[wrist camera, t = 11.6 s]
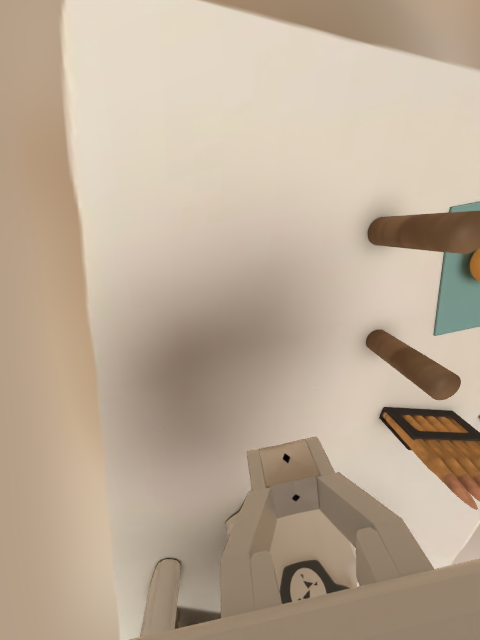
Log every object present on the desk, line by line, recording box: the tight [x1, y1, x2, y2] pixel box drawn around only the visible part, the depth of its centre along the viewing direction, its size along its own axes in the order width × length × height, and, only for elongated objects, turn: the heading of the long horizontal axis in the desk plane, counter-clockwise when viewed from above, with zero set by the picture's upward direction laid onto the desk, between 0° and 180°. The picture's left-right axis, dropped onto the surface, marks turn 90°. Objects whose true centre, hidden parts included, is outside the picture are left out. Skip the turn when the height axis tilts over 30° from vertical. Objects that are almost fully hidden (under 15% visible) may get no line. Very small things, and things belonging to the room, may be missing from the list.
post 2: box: [366, 330, 461, 400], centre depth 24 cm, size 3×3×9 cm
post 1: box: [368, 211, 480, 254], centre depth 20 cm, size 3×3×9 cm
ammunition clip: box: [380, 407, 480, 510], centre depth 28 cm, size 11×2×12 cm, turn 82°
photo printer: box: [140, 559, 180, 637], centre depth 35 cm, size 10×4×12 cm, turn 163°
